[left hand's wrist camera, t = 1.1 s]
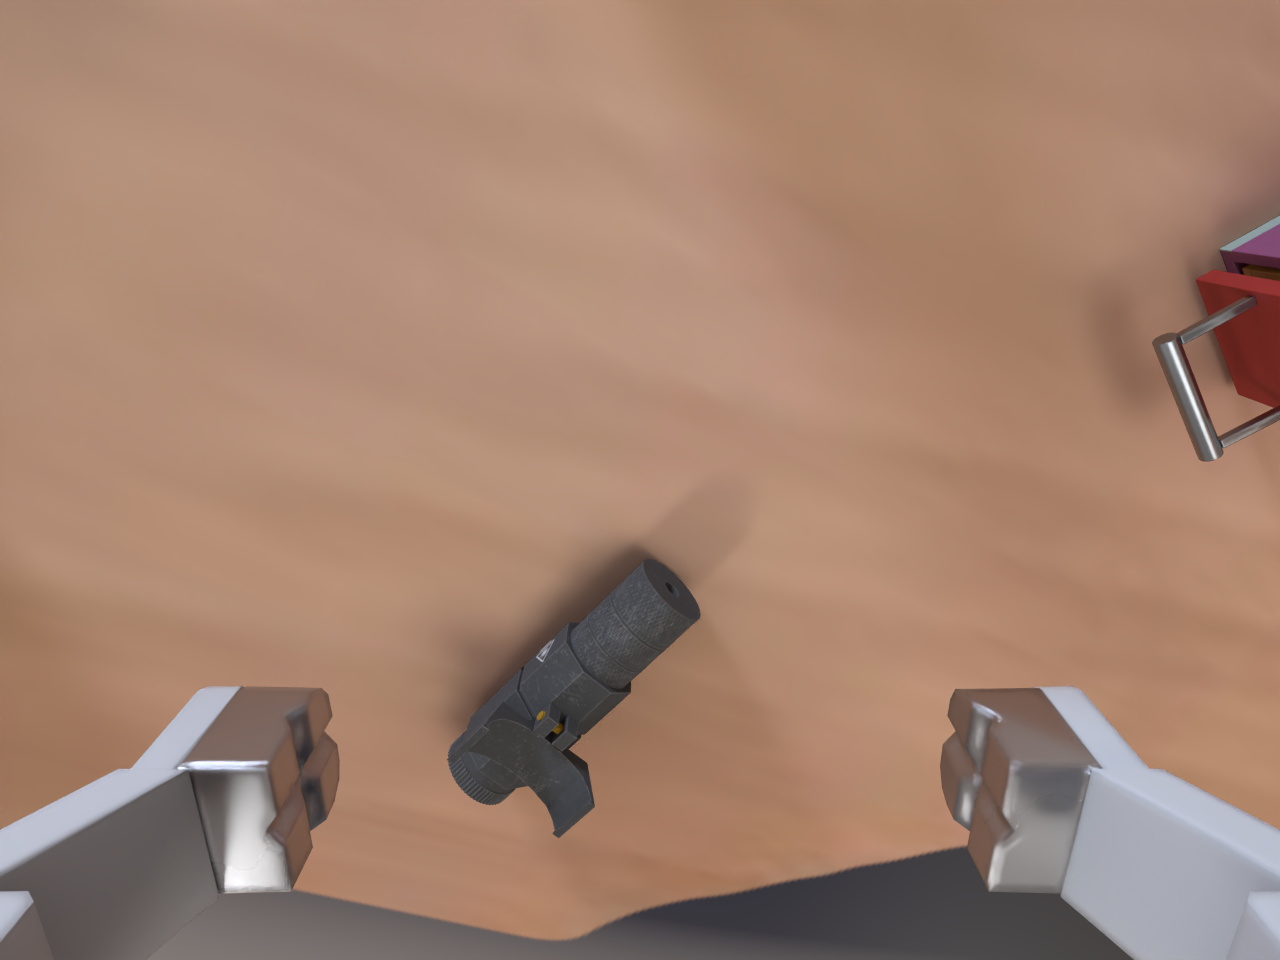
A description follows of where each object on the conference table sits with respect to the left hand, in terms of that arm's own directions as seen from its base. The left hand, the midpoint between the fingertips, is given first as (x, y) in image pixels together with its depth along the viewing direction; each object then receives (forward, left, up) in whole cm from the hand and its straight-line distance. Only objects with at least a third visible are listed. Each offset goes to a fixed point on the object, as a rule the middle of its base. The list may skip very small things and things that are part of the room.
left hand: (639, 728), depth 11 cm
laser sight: (+29, -3, -45) cm, 54 cm away
